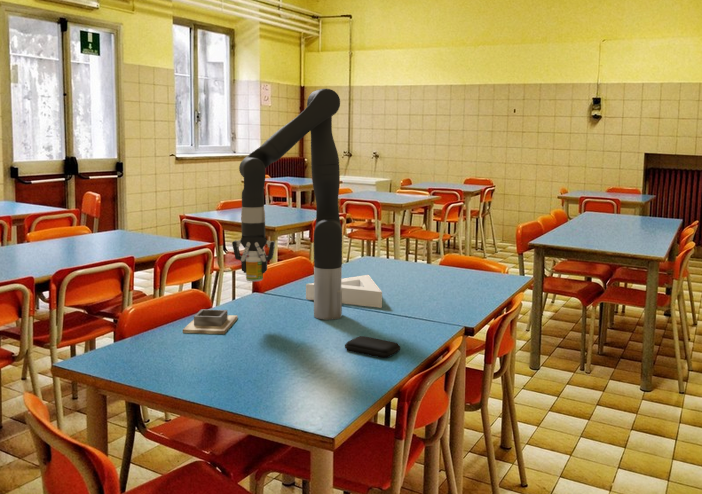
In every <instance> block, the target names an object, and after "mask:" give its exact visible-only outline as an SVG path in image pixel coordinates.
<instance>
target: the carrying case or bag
mask: <svg viewBox="0 0 702 494" xmlns="http://www.w3.org/2000/svg"><path fill="white" fill-rule="evenodd" d="M344 348H345V350H346V351H348V352H350V353H356V354H361V355H363V356H364V355H365V356H370V357H375V358H379V359H388V358H390V357H392V356H393V355H396V354H398V352H399V351H400V350H401V345H400V344H399V343H398V342H396V341H391V340H386V339H380V338H376V337H370V336H365V335H364V336H363V335H359V336H357V337H355V338H351V340H348V341H347V342H346V343H345V344H344Z"/></svg>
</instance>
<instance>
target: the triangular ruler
mask: <svg viewBox="0 0 702 494" xmlns="http://www.w3.org/2000/svg"><path fill="white" fill-rule="evenodd" d="M341 287H342V304H345V305H353V306H363V307H364V306H365V307H373V308H380V309H381V308H383V291H382V290H381V288H379V286H378V285H377V284H376V282H375V281H374V280H373V279H372V277H371V276H370V275H369V274H364V275H358V276H350V277H345V278H343V277H342V278H341ZM305 300H309V301H311V300H312V301H314V282H312V283H306V284H305Z"/></svg>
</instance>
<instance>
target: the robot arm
mask: <svg viewBox="0 0 702 494" xmlns="http://www.w3.org/2000/svg"><path fill="white" fill-rule="evenodd" d="M340 106H341V98H340V96H339V94H338V93H337V92H336V91H335V90H334V89H331V88H321V89H317V90H316V89H315V90H314V91H312V92H311V93H310V94H309V95H308V97H307V101H306V108H304V110H302V111H301V112H300V113H299V114H298V115H296V117H294V118H292V120H291V121H289V122H288V123H286V124H285V125H283V126H282V127H280V128H279V129H277V131H275V132H274V133H273V134H271V136H270V137H269V138H267V139H266V140H265V141H264V143H262V144H261V145H260V147H259V146H258V148H256V149H254V150H253V151H252V152H250V153H249V154H248V155H246V156H245V157H244V158H243V160H241V162H240V164H239V167H238V169H239V173H240V175H241V177H243V189H242V191H241V215H240V221H241V222H240V224H241V237H240V240H239V239H238V240H233V241H232V242H231V245H232V250H233V253H234V259H235V260H237V261H240V263H241V265H240V266H241V271H242V272H243V273H244V274H246V258H247V257H248V256H249V255H248V251H258V253H259V255H260V257H261V259H262V273H263V274H265V273H266V272H267V270H268V261H271V260H272V259H273V257H274V254H275V252H274V251H275V247H276V241H275V240H267V237H266V211H265V195H264V192H265V191H264V190H265V183H266V168H268V167H269V166H270V165H271V164H273V163H276V162H277V161H279V160H280V159H282V158H283V156H285V155H286V153H288V152H289V151H290V150H291V149H292V148H293V147H294V146H295V145H296V144H298V142H299V141H300V140H302V139H303V138H304V137H305V136H306V135H307V134H308V133H310V159H311V160H310V165H311V166H310V167H311V182H312V188H313V192H314V198H315V203H316V205H315V206H316V210H315V211H316V213H315V214H316V215H315V217H316V218H315V225H314V226H315V227H314V230H313V276H314V277H313V283H314V300H313V317H314V318H316V319H318V320H337V319H338V320H339V319H341V318H342V314H343V313H342V311H343V308H342V307H343V303H342V287H341V279H342V278H343V277H342V276H343V275H342V271H343V270H342V268H343V267H342V266H343V265H342V264H343V263H342V262H343V253H342V252H343V229H342V224H341V219H340V211H339V195H340V194H339V193H340V180H341V179H340V177H341V176H340V175H341V173H340V172H341V171H340V158H339V153H338V150H337V146H336V142H335V140H334V135H333V129H332V126H333V125H332V122H333V121H332V120H333V116H335V115H336V114H337V112H338V111H339V110H340ZM266 245H267V248H269V250H268V254H266V251H265V249H264V247H265V246H266ZM240 246H243V248H244V250H243V252H242V255H241V252H240V248H239V247H240Z"/></svg>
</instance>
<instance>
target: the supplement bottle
mask: <svg viewBox="0 0 702 494" xmlns="http://www.w3.org/2000/svg"><path fill="white" fill-rule="evenodd" d="M245 279H246V281H247V282H253V283H254V282H260V281H261V282H262V281H263V280H264V273H262V259H261V256H260V255H259V253H258V251H248V255H247V258H246V273H245Z"/></svg>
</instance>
